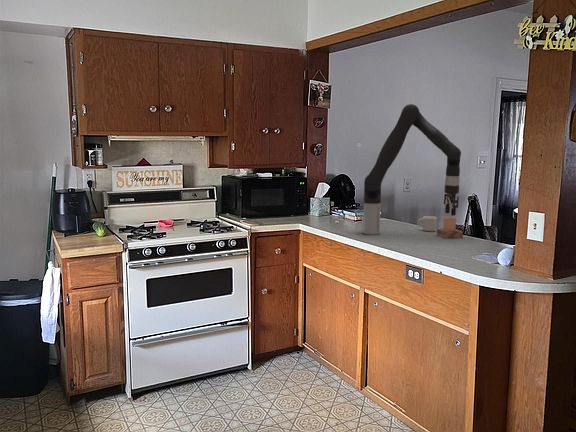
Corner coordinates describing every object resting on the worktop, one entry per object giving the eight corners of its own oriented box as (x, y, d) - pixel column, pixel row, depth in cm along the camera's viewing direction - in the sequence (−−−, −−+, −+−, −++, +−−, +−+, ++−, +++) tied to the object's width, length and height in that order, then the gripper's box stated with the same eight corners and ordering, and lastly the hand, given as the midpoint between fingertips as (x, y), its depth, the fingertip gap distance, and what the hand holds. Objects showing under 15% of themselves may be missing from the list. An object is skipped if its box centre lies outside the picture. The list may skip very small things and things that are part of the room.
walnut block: (445, 239, 287) (445, 232, 286) (436, 236, 297) (437, 228, 296) (462, 238, 289) (463, 231, 288) (453, 235, 298) (454, 228, 298)
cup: (415, 230, 310) (416, 217, 309) (419, 228, 317) (419, 215, 316) (434, 232, 305) (435, 218, 304) (437, 230, 312) (438, 216, 311)
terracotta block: (446, 231, 289) (446, 218, 288) (443, 229, 294) (443, 216, 293) (455, 231, 290) (456, 218, 289) (452, 229, 295) (453, 216, 293)
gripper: (440, 183, 295) (438, 212, 297) (450, 185, 281) (448, 216, 283) (453, 183, 296) (451, 212, 298) (464, 185, 282) (462, 216, 284)
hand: (450, 214), depth 291 cm, fingers open, 8 cm apart
